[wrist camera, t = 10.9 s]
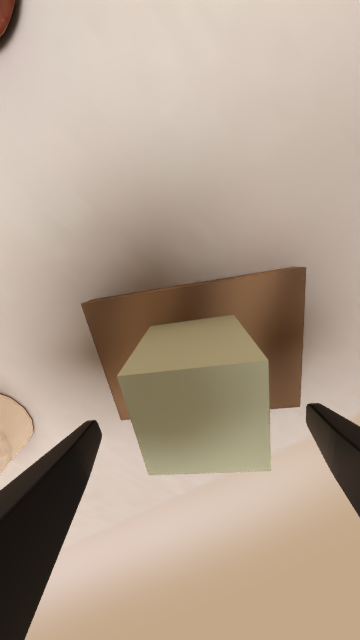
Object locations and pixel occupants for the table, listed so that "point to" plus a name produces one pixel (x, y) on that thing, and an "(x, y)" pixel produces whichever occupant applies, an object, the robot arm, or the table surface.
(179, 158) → the table surface
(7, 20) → the supplement bottle
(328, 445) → the robot arm
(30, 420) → the white cup
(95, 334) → the walnut board
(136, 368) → the sage cube
